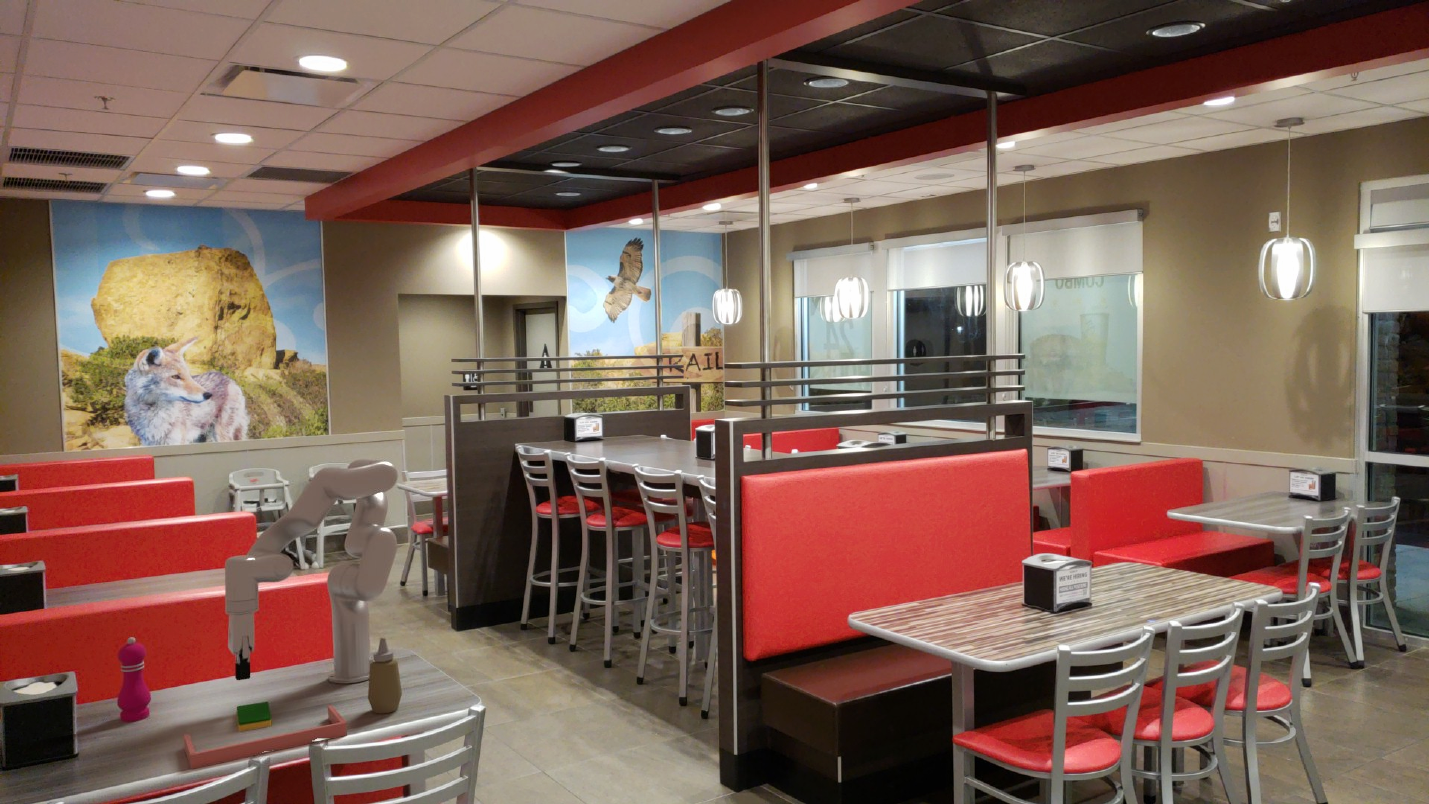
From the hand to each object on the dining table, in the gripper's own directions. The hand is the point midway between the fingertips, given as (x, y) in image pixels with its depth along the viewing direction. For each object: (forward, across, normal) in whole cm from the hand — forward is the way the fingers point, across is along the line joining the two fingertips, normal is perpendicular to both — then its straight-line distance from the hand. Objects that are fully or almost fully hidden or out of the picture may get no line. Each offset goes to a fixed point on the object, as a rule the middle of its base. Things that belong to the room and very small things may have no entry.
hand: (242, 678), depth 251 cm
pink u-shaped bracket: (+8, +27, +1) cm, 29 cm away
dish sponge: (+8, +10, +1) cm, 13 cm away
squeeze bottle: (+7, +23, +29) cm, 38 cm away
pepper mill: (+9, -10, -23) cm, 27 cm away
